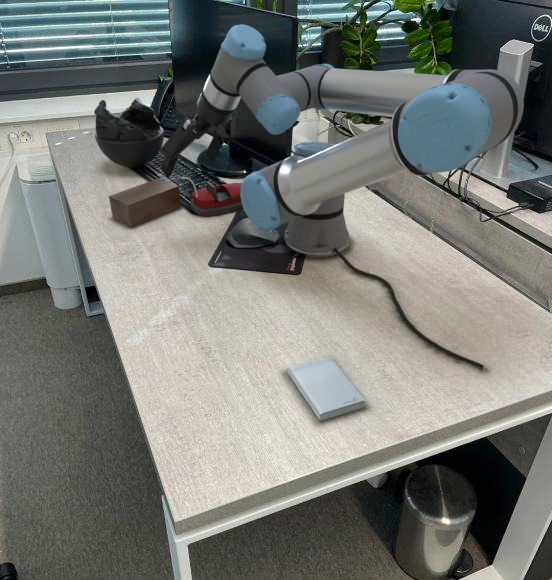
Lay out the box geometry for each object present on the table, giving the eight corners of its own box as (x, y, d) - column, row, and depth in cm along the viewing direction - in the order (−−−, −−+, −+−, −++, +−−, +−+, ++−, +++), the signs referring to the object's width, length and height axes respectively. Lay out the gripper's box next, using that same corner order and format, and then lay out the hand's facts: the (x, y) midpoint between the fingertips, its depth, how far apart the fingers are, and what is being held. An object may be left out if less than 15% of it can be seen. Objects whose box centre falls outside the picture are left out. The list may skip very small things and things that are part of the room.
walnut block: (181, 207, 153) (178, 185, 149) (131, 227, 144) (127, 205, 140) (162, 199, 157) (159, 177, 154) (112, 218, 148) (108, 196, 144)
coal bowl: (180, 161, 179) (174, 97, 168) (136, 182, 166) (125, 115, 154) (133, 149, 188) (123, 88, 176) (87, 169, 174) (73, 104, 163)
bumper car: (260, 205, 154) (259, 168, 148) (191, 222, 146) (187, 184, 140) (243, 192, 161) (242, 156, 154) (176, 208, 153) (172, 171, 146)
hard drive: (365, 400, 92) (330, 354, 101) (319, 414, 90) (287, 366, 99) (364, 407, 93) (329, 362, 102) (319, 421, 91) (287, 374, 100)
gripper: (251, 72, 126) (217, 139, 143) (160, 96, 111) (135, 167, 129) (272, 99, 125) (235, 162, 142) (183, 126, 111) (154, 193, 128)
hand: (188, 165), depth 136 cm, fingers open, 13 cm apart
